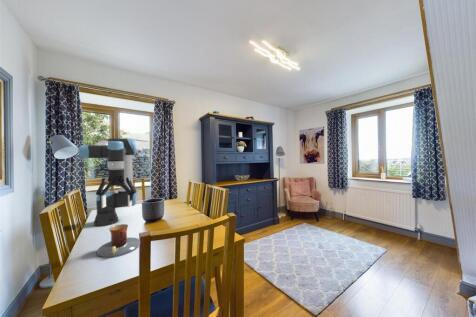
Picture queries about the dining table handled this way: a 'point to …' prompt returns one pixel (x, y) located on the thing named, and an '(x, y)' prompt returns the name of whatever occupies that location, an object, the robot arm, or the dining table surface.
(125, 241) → the mug
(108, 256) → the seat disc
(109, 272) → the dining table surface
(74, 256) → the dining table surface
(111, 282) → the dining table surface
